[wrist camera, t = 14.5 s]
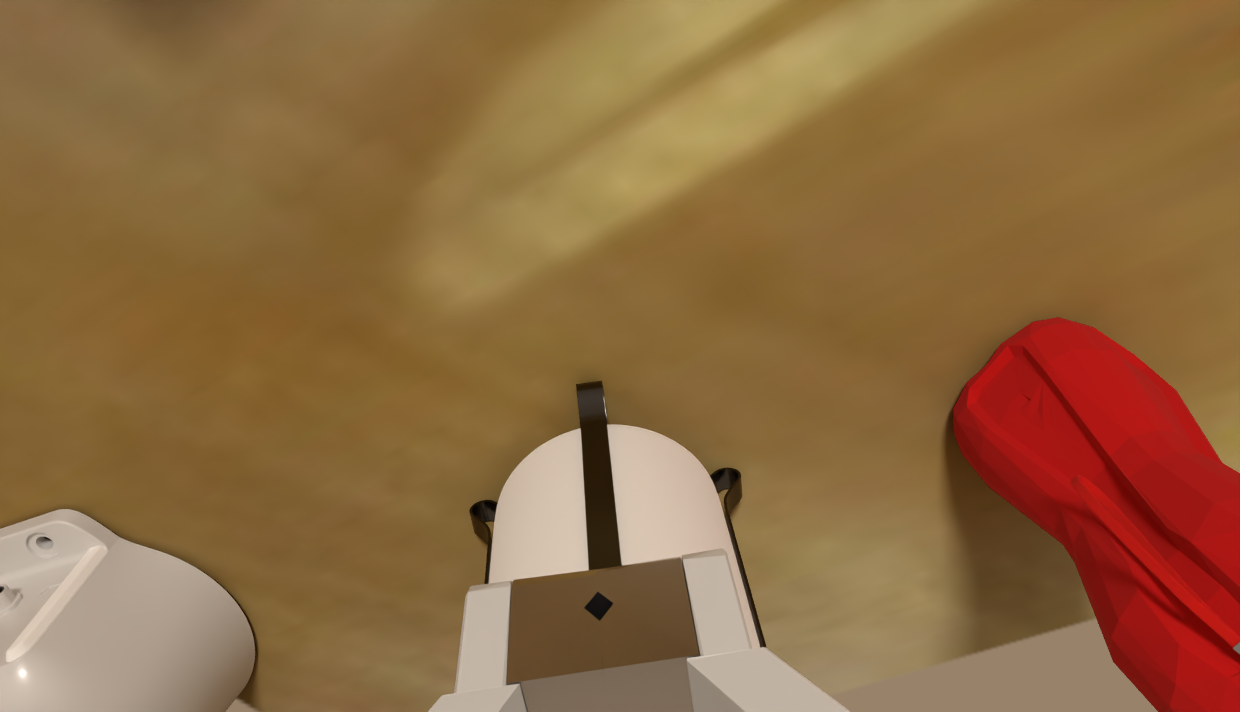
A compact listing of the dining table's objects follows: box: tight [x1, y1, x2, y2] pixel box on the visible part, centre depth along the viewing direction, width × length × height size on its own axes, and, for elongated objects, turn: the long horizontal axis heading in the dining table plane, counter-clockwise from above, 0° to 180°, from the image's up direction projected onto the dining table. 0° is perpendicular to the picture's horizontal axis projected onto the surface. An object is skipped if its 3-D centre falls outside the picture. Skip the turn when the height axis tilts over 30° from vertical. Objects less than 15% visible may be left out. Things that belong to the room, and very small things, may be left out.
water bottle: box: [953, 317, 1240, 712], centre depth 39 cm, size 9×11×25 cm
